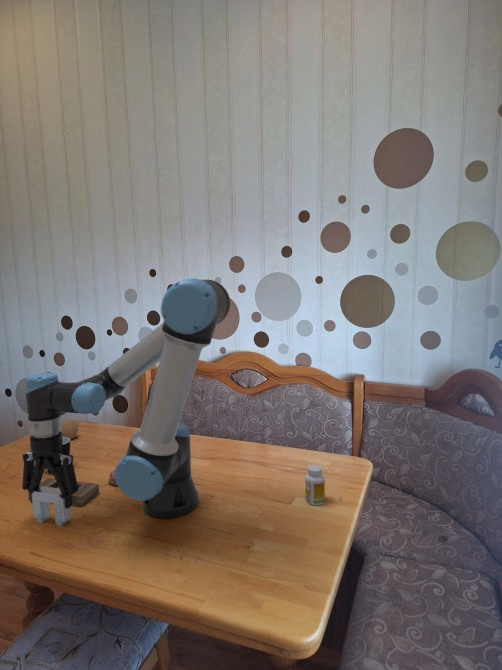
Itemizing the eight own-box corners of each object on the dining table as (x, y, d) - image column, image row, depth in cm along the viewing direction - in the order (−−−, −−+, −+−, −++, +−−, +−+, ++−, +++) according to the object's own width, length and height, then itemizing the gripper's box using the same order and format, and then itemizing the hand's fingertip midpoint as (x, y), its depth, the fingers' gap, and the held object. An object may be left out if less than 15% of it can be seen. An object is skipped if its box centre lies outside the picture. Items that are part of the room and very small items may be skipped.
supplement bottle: (327, 498, 120) (327, 465, 119) (321, 507, 116) (321, 473, 115) (309, 494, 123) (308, 462, 122) (302, 503, 118) (302, 470, 117)
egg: (77, 435, 177) (76, 416, 176) (79, 439, 172) (78, 420, 171) (60, 438, 174) (59, 418, 173) (62, 442, 168) (60, 422, 168)
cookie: (130, 470, 142) (129, 461, 142) (145, 480, 135) (145, 471, 134) (101, 480, 136) (101, 471, 135) (116, 491, 128) (115, 481, 128)
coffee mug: (77, 465, 147) (75, 437, 146) (63, 476, 138) (61, 446, 137) (45, 464, 148) (43, 436, 147) (30, 475, 139) (28, 446, 138)
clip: (69, 519, 112) (67, 489, 111) (61, 526, 109) (59, 494, 108) (44, 516, 114) (41, 486, 113) (35, 522, 111) (33, 491, 110)
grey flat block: (99, 493, 126) (98, 483, 126) (82, 507, 118) (81, 496, 118) (48, 487, 131) (47, 477, 130) (28, 499, 123) (27, 490, 123)
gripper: (1, 435, 108) (8, 519, 110) (70, 441, 102) (77, 529, 105) (23, 425, 115) (30, 504, 118) (90, 431, 110) (95, 514, 112)
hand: (52, 516), depth 111 cm, fingers closed on clip, 8 cm apart
